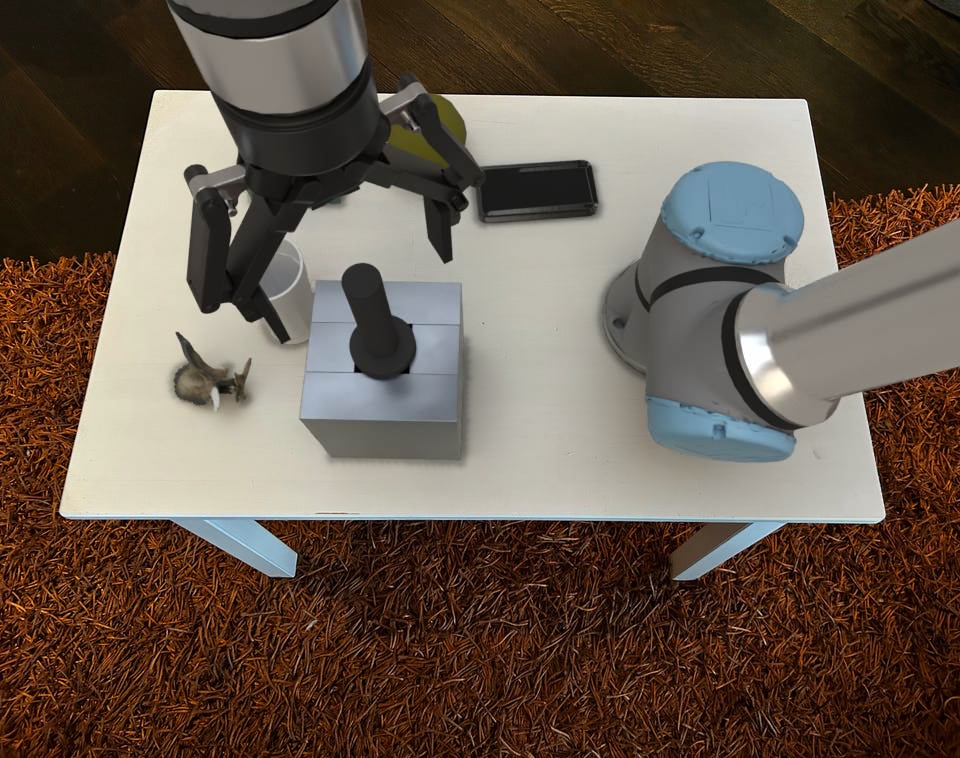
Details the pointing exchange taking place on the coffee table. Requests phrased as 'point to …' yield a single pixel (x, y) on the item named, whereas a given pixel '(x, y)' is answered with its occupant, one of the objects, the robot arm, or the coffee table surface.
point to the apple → (417, 142)
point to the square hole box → (393, 400)
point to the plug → (376, 325)
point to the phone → (537, 191)
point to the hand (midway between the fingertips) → (361, 287)
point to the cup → (289, 291)
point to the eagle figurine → (205, 379)
